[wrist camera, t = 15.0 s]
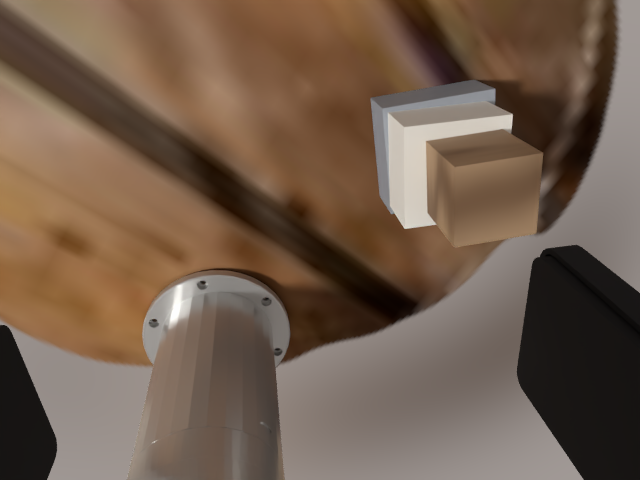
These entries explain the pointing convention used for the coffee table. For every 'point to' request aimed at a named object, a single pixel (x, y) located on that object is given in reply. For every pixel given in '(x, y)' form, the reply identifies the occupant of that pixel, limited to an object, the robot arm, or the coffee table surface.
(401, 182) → the tower top
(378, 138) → the tower base
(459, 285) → the coffee table surface
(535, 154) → the walnut cube
